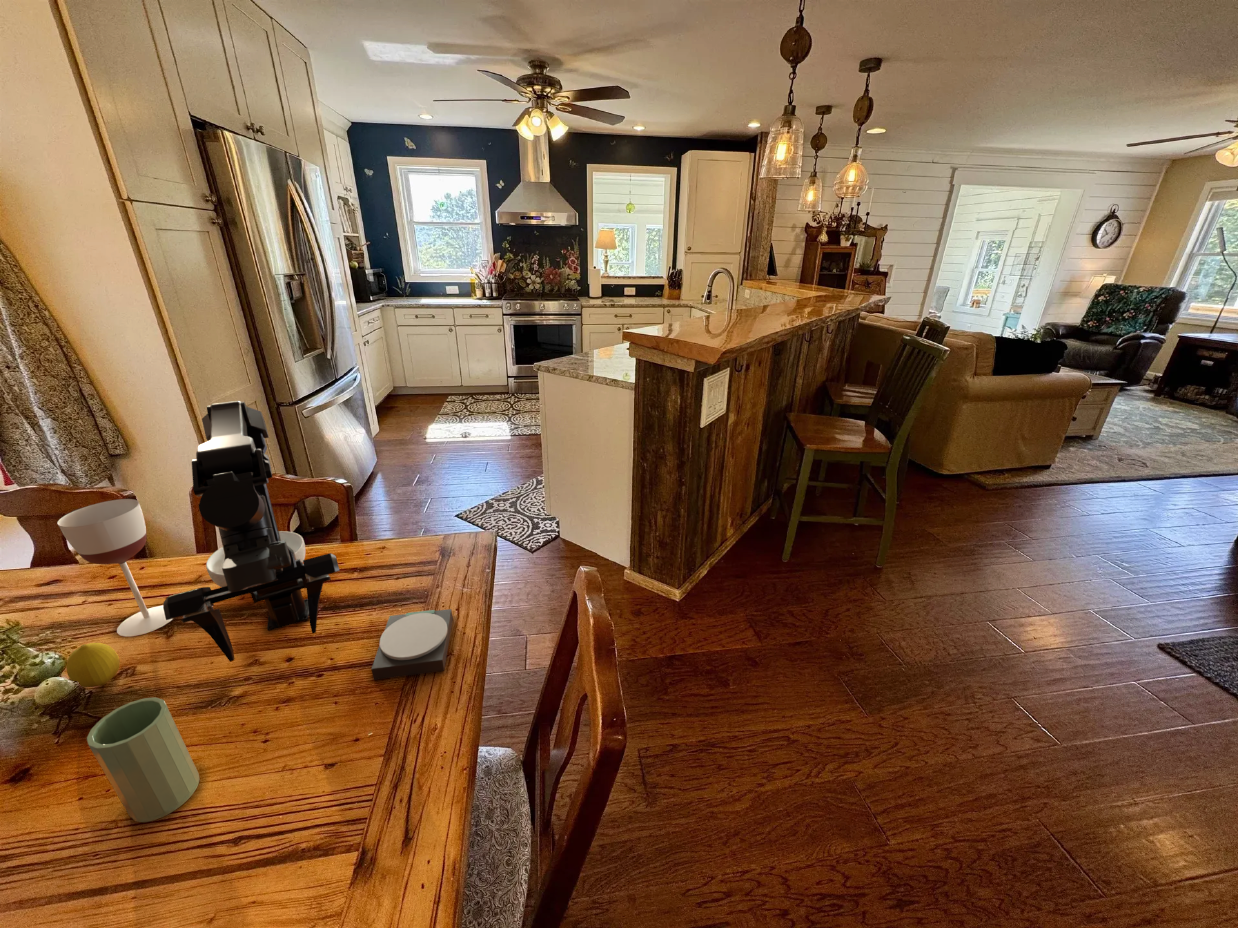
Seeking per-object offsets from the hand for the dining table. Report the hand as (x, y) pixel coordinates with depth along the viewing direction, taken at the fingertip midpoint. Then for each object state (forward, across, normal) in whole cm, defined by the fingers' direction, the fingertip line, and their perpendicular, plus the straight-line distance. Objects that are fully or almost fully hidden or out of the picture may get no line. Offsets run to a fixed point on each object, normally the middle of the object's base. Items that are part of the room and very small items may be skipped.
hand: (274, 646), depth 66 cm
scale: (+9, +18, +14) cm, 25 cm away
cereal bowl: (-10, -4, +47) cm, 48 cm away
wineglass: (-9, -22, +44) cm, 50 cm away
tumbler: (+14, -15, +7) cm, 22 cm away
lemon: (-1, -25, +31) cm, 40 cm away
